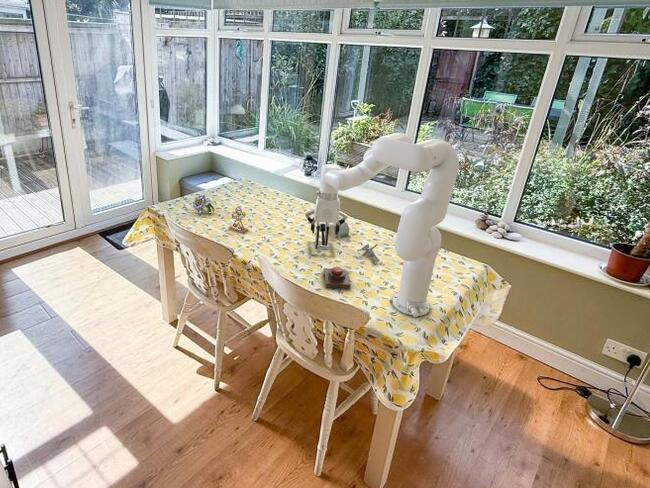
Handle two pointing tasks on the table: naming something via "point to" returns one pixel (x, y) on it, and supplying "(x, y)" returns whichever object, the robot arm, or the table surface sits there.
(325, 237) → the black rod frame
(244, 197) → the table surface
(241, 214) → the brown openwork figurine
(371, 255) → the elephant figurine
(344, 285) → the button block
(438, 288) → the table surface
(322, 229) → the lever
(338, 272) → the button
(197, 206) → the passion flower
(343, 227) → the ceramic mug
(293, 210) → the table surface
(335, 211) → the robot arm
